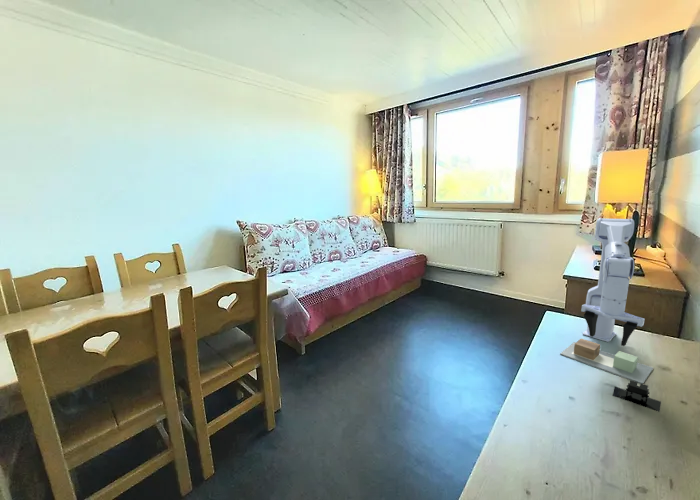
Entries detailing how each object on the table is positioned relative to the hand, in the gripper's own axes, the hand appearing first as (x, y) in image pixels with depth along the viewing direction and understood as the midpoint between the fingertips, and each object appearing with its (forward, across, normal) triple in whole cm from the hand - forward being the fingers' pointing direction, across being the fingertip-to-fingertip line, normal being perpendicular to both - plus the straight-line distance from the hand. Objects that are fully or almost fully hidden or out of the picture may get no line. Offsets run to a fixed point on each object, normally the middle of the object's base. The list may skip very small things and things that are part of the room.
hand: (607, 340), depth 96 cm
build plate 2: (+10, +10, -9) cm, 17 cm away
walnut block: (+9, -6, +5) cm, 12 cm away
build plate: (+10, -1, +5) cm, 11 cm away
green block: (+9, +4, +5) cm, 11 cm away
